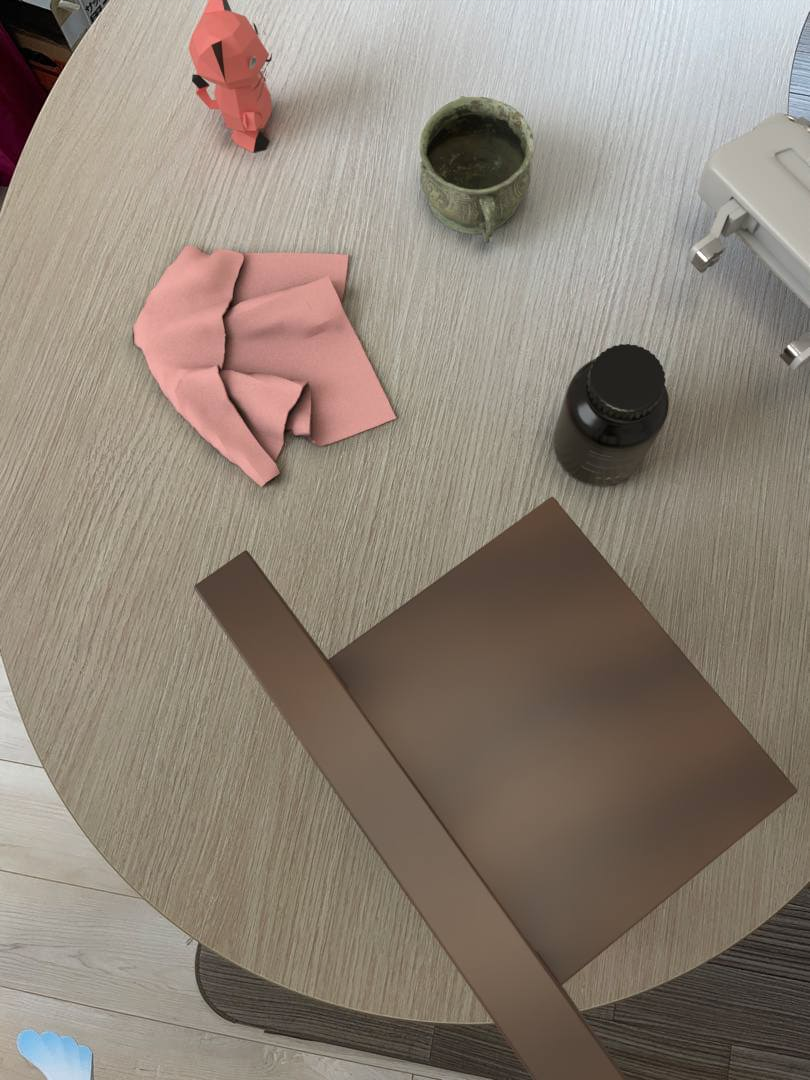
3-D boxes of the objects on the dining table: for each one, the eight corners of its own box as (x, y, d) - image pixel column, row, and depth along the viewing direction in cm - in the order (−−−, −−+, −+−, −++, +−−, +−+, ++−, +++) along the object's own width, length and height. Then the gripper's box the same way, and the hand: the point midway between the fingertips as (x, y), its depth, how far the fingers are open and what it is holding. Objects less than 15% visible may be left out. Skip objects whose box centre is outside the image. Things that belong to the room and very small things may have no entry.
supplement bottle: (547, 407, 72) (567, 330, 60) (637, 400, 72) (675, 322, 60) (557, 493, 70) (580, 430, 58) (650, 486, 70) (691, 422, 58)
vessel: (407, 143, 79) (404, 88, 73) (511, 125, 79) (517, 68, 73) (434, 268, 75) (434, 220, 69) (543, 248, 75) (552, 199, 69)
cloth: (162, 230, 77) (153, 212, 75) (426, 266, 75) (425, 249, 73) (96, 461, 72) (85, 449, 69) (379, 506, 70) (377, 496, 68)
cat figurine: (285, 162, 79) (258, 51, 67) (203, 162, 79) (162, 51, 67) (290, 91, 80) (265, -29, 69) (210, 92, 81) (172, -28, 69)
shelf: (657, 798, 64) (1091, 775, 21) (493, 930, 62) (611, 1192, 19) (510, 611, 67) (630, 279, 25) (351, 730, 66) (192, 586, 23)
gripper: (804, 71, 65) (651, 176, 64) (1025, 279, 61) (866, 399, 59) (773, 133, 72) (632, 231, 70) (972, 327, 67) (826, 437, 65)
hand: (741, 309), depth 64 cm, fingers open, 8 cm apart
